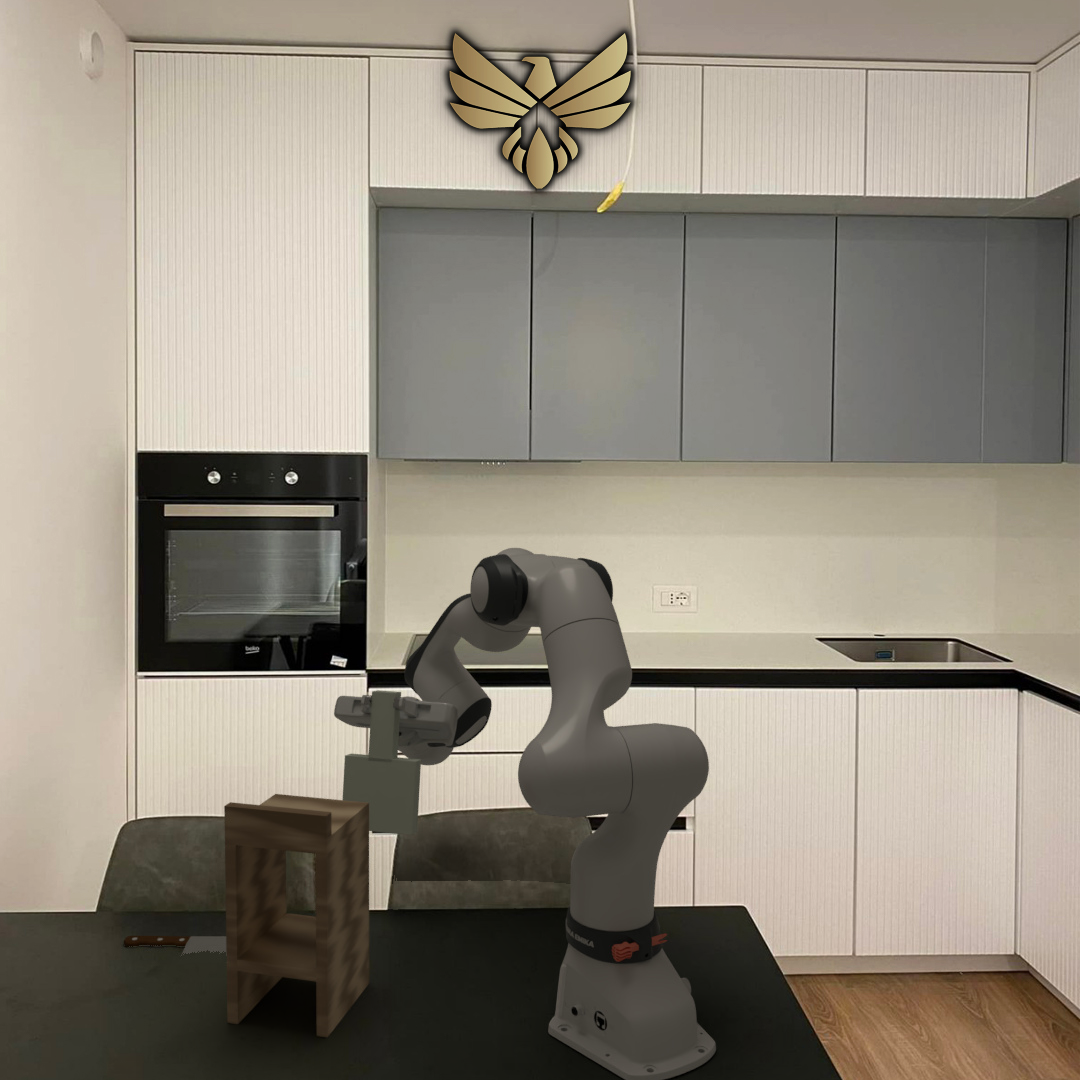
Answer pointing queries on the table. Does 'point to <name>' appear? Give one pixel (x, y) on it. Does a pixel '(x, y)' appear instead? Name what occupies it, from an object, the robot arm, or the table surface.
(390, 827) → the grey paddle board
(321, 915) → the rack
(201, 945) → the kitchen cleaver
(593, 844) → the robot arm
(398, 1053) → the table surface
